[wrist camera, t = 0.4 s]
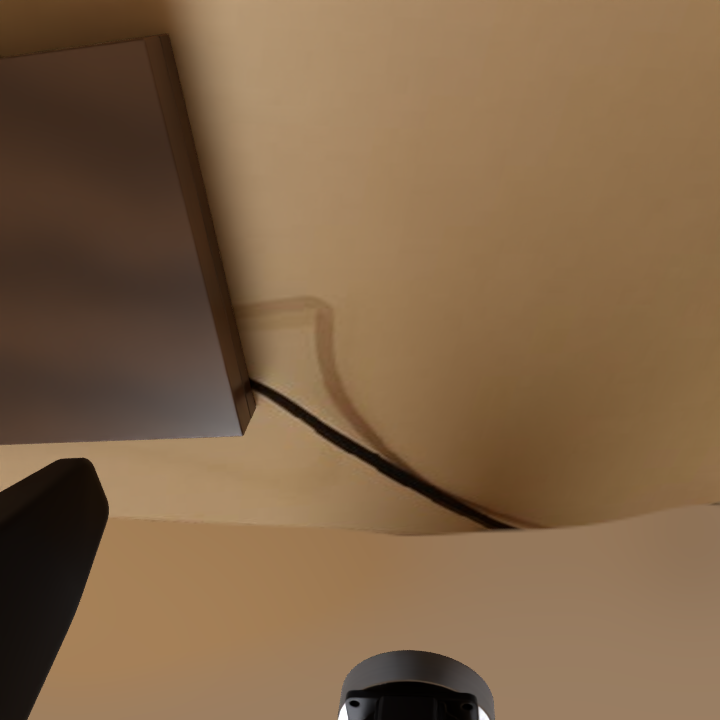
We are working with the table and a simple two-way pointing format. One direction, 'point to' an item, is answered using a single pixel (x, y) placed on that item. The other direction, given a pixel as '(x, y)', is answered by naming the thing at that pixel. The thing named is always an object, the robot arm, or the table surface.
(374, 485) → the table surface
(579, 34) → the table surface
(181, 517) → the table surface
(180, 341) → the dark wooden base block
